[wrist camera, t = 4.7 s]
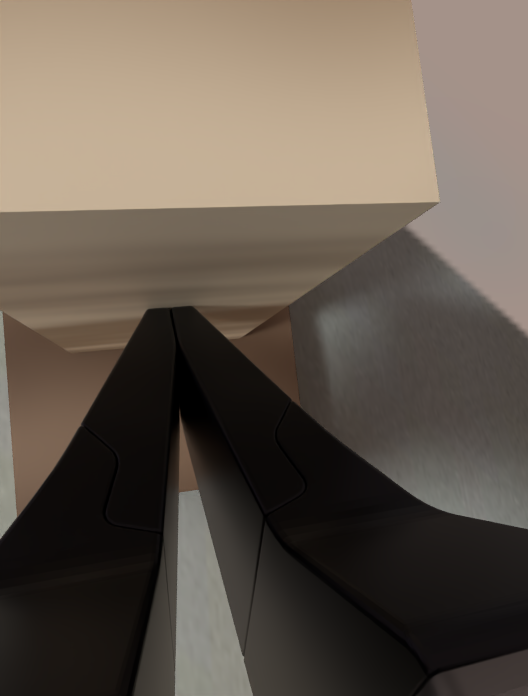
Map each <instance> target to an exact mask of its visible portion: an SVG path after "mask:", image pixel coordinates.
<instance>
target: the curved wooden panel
mask: <svg viewBox="0 0 528 696" xmlns="http://www.w3.org/2000/svg"><path fill="white" fill-rule="evenodd" d="M439 202H440V198H439V191H438V184H437V178H436V170H435V163H434V156H433V149H432V142H431V135H430V128H429V121H428V115H427V108H426V101H425V94H424V88H423V80H422V73H421V66H420V59H419V52H418V46H417V39H416V31H415V24H414V18H413V11H412V3H411V0H0V310H1V311H3V312H4V313H6V314H7V315H9V316H11V317H12V318H14V319H16V320H17V321H19V322H21V323H22V324H24V325H26V326H27V327H29V328H30V329H32V330H34V331H35V332H37V333H39V334H40V335H42V336H44V337H45V338H47V339H49V340H50V341H52V342H53V343H55V344H57V345H58V346H60V347H62V348H63V349H65V350H67V351H68V352H70V353H78V352H90V351H101V350H113V349H124V348H125V346H126V344H127V343H128V341H129V339H130V337H131V336H132V334H133V332H134V331H135V329H136V327H137V325H138V324H139V322H140V320H141V318H142V317H143V315H144V313H145V312H146V310H147V309H151V308H169V309H170V310H171V308H173V307H180V306H193V307H194V308H195V309H197V310H198V311H199V312H200V313H201V314H202V315H203V316H204V317H205V318H206V319H207V320H208V321H209V322H210V323H211V324H212V325H213V326H215V327H216V328H217V329H218V330H219V331H220V332H221V333H222V334H223V335H224V336H225V337H226V338H227V339H239V338H241V337H243V336H244V335H246V334H247V333H249V332H250V331H252V330H253V329H254V328H256V327H257V326H259V325H260V324H262V323H263V322H265V321H266V320H268V319H269V318H271V317H272V316H274V315H275V314H276V313H278V312H279V311H281V310H282V309H284V308H285V307H287V306H288V305H290V304H291V303H293V302H294V301H296V300H297V299H299V298H300V297H301V296H303V295H304V294H306V293H307V292H309V291H310V290H312V289H313V288H315V287H316V286H318V285H319V284H321V283H322V282H323V281H325V280H326V279H328V278H329V277H331V276H332V275H334V274H335V273H337V272H338V271H340V270H341V269H343V268H344V267H345V266H347V265H348V264H350V263H351V262H353V261H354V260H356V259H357V258H359V257H360V256H362V255H363V254H365V253H366V252H367V251H369V250H370V249H372V248H373V247H375V246H376V245H378V244H379V243H381V242H382V241H384V240H385V239H387V238H388V237H389V236H391V235H392V234H394V233H395V232H397V231H398V230H400V229H401V228H403V227H404V226H406V225H407V224H409V223H410V222H412V221H413V220H414V219H416V218H417V217H419V216H420V215H422V214H423V213H425V212H426V211H428V210H429V209H431V208H432V207H433V206H435V205H436V204H438V203H439Z"/></svg>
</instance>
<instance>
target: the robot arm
mask: <svg viewBox="0 0 528 696" xmlns="http://www.w3.org/2000/svg"><path fill="white" fill-rule="evenodd" d="M179 411H180V412H179ZM180 418H181V423H182V427H183V432H184V435H185V439H186V443H187V447H188V451H189V454H190V458H191V462H192V466H193V469H194V473H195V477H196V481H197V485H198V488H199V492H200V496H201V500H202V504H203V507H204V511H205V515H206V519H207V522H208V526H209V530H210V534H211V538H212V541H213V545H214V549H215V553H216V557H217V560H218V564H219V568H220V572H221V575H222V579H223V583H224V587H225V591H226V594H227V598H228V602H229V606H230V609H231V613H232V617H233V621H234V625H235V628H236V632H237V636H238V640H239V644H240V647H241V651H242V655H243V656H244V663H245V667H246V670H247V674H248V678H249V682H250V686H251V689H252V693H253V696H528V529H524V528H519V527H514V526H509V525H504V524H499V523H495V522H490V521H485V520H480V519H475V518H470V517H465V516H460V515H455V514H451V513H448V512H445V511H442V510H439V509H437V508H434V507H432V506H430V505H428V504H426V503H424V502H423V501H421V500H419V499H417V498H416V497H414V496H413V495H411V494H410V493H409V492H407V491H406V490H404V489H403V488H402V487H400V486H399V485H398V484H396V483H395V482H394V481H392V480H391V479H390V478H388V477H387V476H386V475H384V474H383V473H382V472H380V471H379V470H378V469H376V468H375V467H373V466H372V465H371V464H369V463H368V462H367V461H365V460H364V459H363V458H361V457H360V456H359V455H357V454H356V453H355V452H353V451H352V450H351V449H349V448H348V447H347V446H346V445H344V444H343V443H342V442H340V441H339V440H338V439H337V438H335V437H334V436H333V435H332V434H330V433H329V432H328V431H327V430H325V429H324V428H323V427H322V426H321V425H320V424H319V423H317V422H316V421H315V420H314V419H313V418H312V417H311V416H310V415H308V414H307V413H306V412H305V411H304V410H303V409H302V408H301V407H300V406H299V405H298V404H297V403H296V402H294V401H292V399H291V398H290V397H289V396H288V395H287V394H286V393H285V392H284V391H283V390H281V389H280V388H279V387H278V386H277V385H276V384H275V383H274V382H273V381H272V380H271V379H270V378H269V377H268V376H267V375H266V374H264V373H263V372H262V371H261V370H260V369H259V368H258V367H257V366H256V365H255V364H254V363H253V362H252V361H251V360H250V359H249V358H247V357H246V356H245V355H244V354H243V353H242V352H241V351H240V350H239V349H238V348H237V347H236V346H235V345H234V344H233V343H232V342H230V341H229V340H228V339H227V338H226V337H225V336H224V335H223V334H222V333H221V332H220V331H219V330H218V329H217V328H216V327H215V326H213V325H212V324H211V323H210V322H209V321H208V320H207V319H206V318H205V317H204V316H203V315H202V314H201V313H200V312H199V311H198V310H197V309H195V308H194V307H193V306H180V307H173V308H171V310H170V309H169V308H151V309H147V310H146V312H145V313H144V315H143V317H142V318H141V320H140V322H139V324H138V325H137V327H136V329H135V331H134V332H133V334H132V336H131V337H130V339H129V341H128V343H127V344H126V346H125V348H124V350H123V351H122V353H121V355H120V357H119V358H118V360H117V362H116V364H115V365H114V367H113V369H112V370H111V372H110V374H109V376H108V377H107V379H106V381H105V383H104V384H103V386H102V388H101V390H100V391H99V393H98V395H97V397H96V398H95V400H94V402H93V403H92V405H91V407H90V409H89V410H88V412H87V414H86V416H85V417H84V419H83V421H82V423H81V426H80V427H79V428H78V429H77V431H76V433H75V434H74V436H73V438H72V440H71V441H70V443H69V445H68V446H67V448H66V450H65V451H64V453H63V454H62V456H61V457H60V459H59V461H58V462H57V464H56V465H55V467H54V469H53V470H52V471H51V473H50V474H49V475H48V477H47V478H46V480H45V481H44V482H43V484H42V485H41V486H40V488H39V489H38V491H37V492H36V493H35V495H34V496H33V497H32V499H31V500H30V501H29V502H28V504H27V505H26V506H25V508H24V509H23V510H22V512H21V513H20V514H19V515H18V517H17V518H16V519H15V521H14V522H13V523H12V525H11V526H10V527H9V528H8V530H7V531H6V532H5V534H4V535H3V536H2V538H1V539H0V696H175V657H176V606H177V556H178V505H179V455H180Z"/></svg>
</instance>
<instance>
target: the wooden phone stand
mask: <svg viewBox="0 0 528 696" xmlns="http://www.w3.org/2000/svg"><path fill="white" fill-rule="evenodd" d="M3 323H4V337H5V351H6V366H7V380H8V394H9V408H10V423H11V437H12V451H13V465H14V479H15V494H16V508H17V517H18V515H19V514H20V513H21V512H22V510H23V509H24V508H25V506H26V505H27V504H28V502H29V501H30V500H31V499H32V497H33V496H34V495H35V493H36V492H37V491H38V489H39V488H40V486H41V485H42V484H43V482H44V481H45V480H46V478H47V477H48V475H49V474H50V473H51V471H52V470H53V469H54V467H55V465H56V464H57V462H58V461H59V459H60V457H61V456H62V454H63V453H64V451H65V450H66V448H67V446H68V445H69V443H70V441H71V440H72V438H73V436H74V434H75V433H76V431H77V429H78V428H79V427H80V426H81V423H82V421H83V419H84V417H85V416H86V414H87V412H88V410H89V409H90V407H91V405H92V403H93V402H94V400H95V398H96V397H97V395H98V393H99V391H100V390H101V388H102V386H103V384H104V383H105V381H106V379H107V377H108V376H109V374H110V372H111V370H112V369H113V367H114V365H115V364H116V362H117V360H118V358H119V357H120V355H121V353H122V351H123V350H124V349H113V350H101V351H90V352H78V353H70V352H68V351H67V350H65V349H63V348H62V347H60V346H58V345H57V344H55V343H53V342H52V341H50V340H49V339H47V338H45V337H44V336H42V335H40V334H39V333H37V332H35V331H34V330H32V329H30V328H29V327H27V326H26V325H24V324H22V323H21V322H19V321H17V320H16V319H14V318H12V317H11V316H9V315H7V314H6V313H4V312H3ZM228 340H229V341H230V342H232V343H233V344H234V345H235V346H236V347H237V348H238V349H239V350H240V351H241V352H242V353H243V354H244V355H245V356H246V357H247V358H249V359H250V360H251V361H252V362H253V363H254V364H255V365H256V366H257V367H258V368H259V369H260V370H261V371H262V372H263V373H264V374H266V375H267V376H268V377H269V378H270V379H271V380H272V381H273V382H274V383H275V384H276V385H277V386H278V387H279V388H280V389H281V390H283V391H284V392H285V393H286V394H287V395H288V396H289V397H290V398H291V399H292V401H294V402H296V403H297V404H298V405H299V406H300V398H299V390H298V381H297V373H296V364H295V356H294V347H293V339H292V330H291V322H290V313H289V305H288V306H287V307H285V308H284V309H282V310H281V311H279V312H278V313H276V314H275V315H274V316H272V317H271V318H269V319H268V320H266V321H265V322H263V323H262V324H260V325H259V326H257V327H256V328H254V329H253V330H252V331H250V332H249V333H247V334H246V335H244V336H243V337H241V338H239V339H228ZM179 412H180V411H179ZM198 489H199V488H198V485H197V481H196V477H195V473H194V469H193V466H192V462H191V458H190V454H189V451H188V447H187V443H186V439H185V435H184V432H183V427H182V423H181V418H180V455H179V492H185V491H191V490H198Z"/></svg>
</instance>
